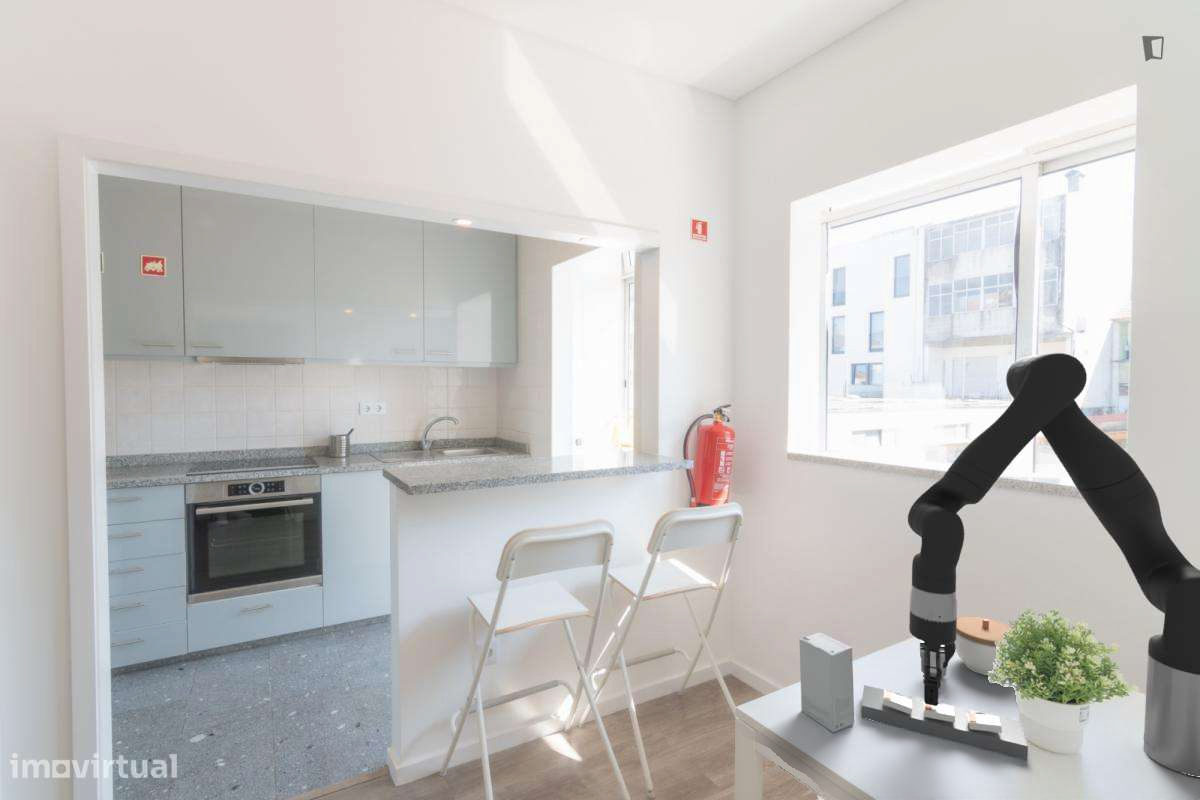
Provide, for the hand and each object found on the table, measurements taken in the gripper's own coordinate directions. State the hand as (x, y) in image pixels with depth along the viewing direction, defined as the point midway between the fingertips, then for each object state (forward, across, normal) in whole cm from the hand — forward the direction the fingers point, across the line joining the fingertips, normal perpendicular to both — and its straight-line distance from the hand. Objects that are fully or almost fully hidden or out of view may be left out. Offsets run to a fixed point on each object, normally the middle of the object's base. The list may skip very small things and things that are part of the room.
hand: (930, 702), depth 107 cm
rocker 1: (+2, 0, +6) cm, 6 cm away
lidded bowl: (+6, +31, -11) cm, 33 cm away
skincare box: (+5, -5, +18) cm, 19 cm away
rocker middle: (+2, 0, -1) cm, 2 cm away
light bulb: (+5, +22, -2) cm, 23 cm away
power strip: (+5, +2, -1) cm, 6 cm away
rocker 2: (+2, 0, -8) cm, 9 cm away
